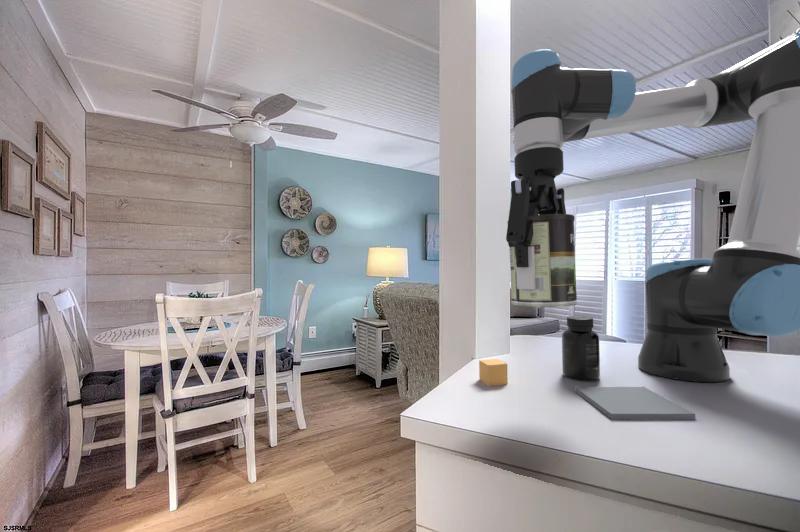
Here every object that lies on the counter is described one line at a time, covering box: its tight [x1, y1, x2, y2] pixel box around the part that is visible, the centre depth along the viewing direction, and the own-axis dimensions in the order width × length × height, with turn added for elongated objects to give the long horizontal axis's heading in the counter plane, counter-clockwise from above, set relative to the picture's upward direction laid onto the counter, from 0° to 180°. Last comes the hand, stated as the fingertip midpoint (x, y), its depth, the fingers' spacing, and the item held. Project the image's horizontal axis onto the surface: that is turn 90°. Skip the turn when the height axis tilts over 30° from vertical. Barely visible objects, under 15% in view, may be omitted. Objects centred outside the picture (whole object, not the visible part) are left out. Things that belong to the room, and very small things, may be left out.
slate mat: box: [574, 386, 696, 420], centre depth 59 cm, size 12×12×1 cm
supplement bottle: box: [561, 315, 601, 382], centre depth 74 cm, size 7×7×12 cm
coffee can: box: [508, 213, 578, 308], centre depth 60 cm, size 10×10×14 cm
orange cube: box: [478, 358, 509, 387], centre depth 72 cm, size 4×4×4 cm
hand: (542, 286), depth 60 cm, fingers closed on coffee can, 10 cm apart
